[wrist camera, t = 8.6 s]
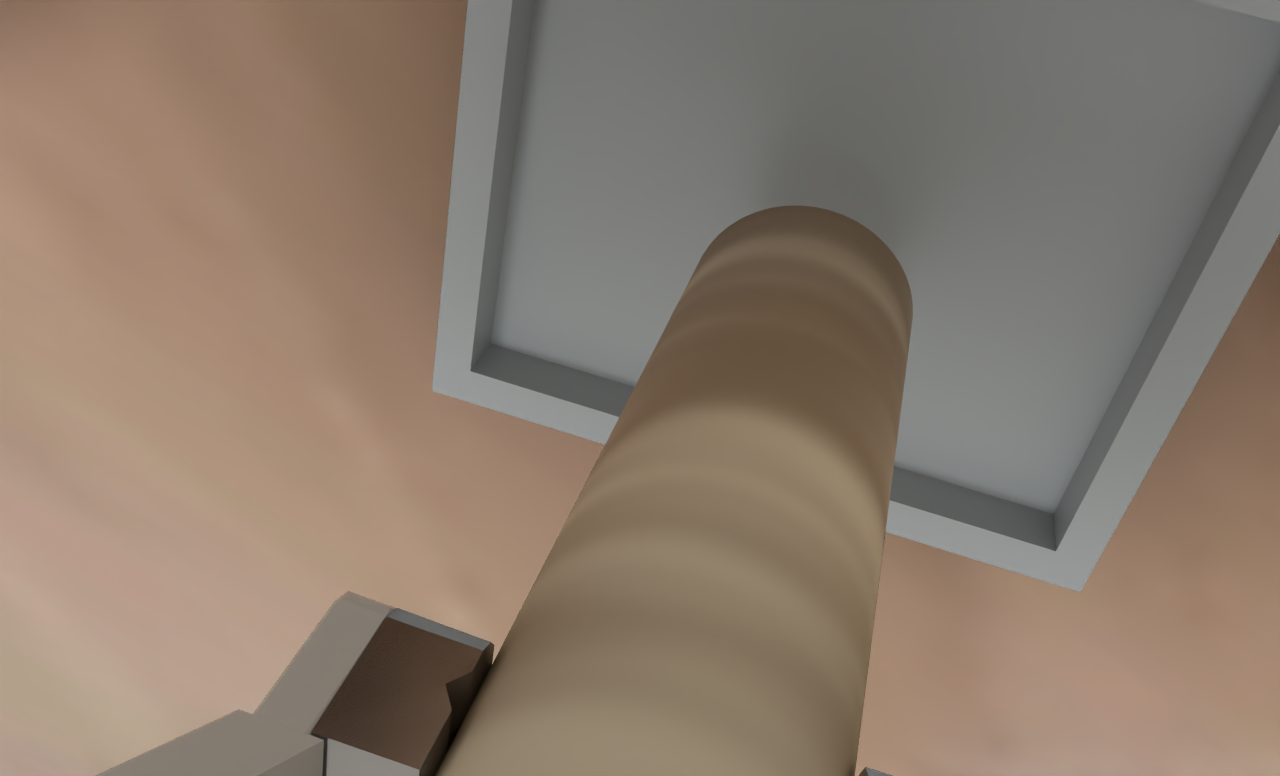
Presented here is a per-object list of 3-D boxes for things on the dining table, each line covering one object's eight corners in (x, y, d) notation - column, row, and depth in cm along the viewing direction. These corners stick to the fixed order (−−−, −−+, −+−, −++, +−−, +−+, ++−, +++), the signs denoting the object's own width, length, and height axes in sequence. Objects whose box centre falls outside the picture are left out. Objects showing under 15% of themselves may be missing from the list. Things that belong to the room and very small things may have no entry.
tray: (531, -239, 19) (489, -231, 18) (1375, -37, 18) (1413, -8, 16) (467, 346, 26) (431, 391, 25) (1074, 530, 25) (1079, 592, 23)
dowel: (716, 178, 18) (366, 799, 8) (944, 242, 17) (879, 983, 7) (671, 368, 20) (347, 1056, 10) (875, 430, 19) (750, 1212, 9)
